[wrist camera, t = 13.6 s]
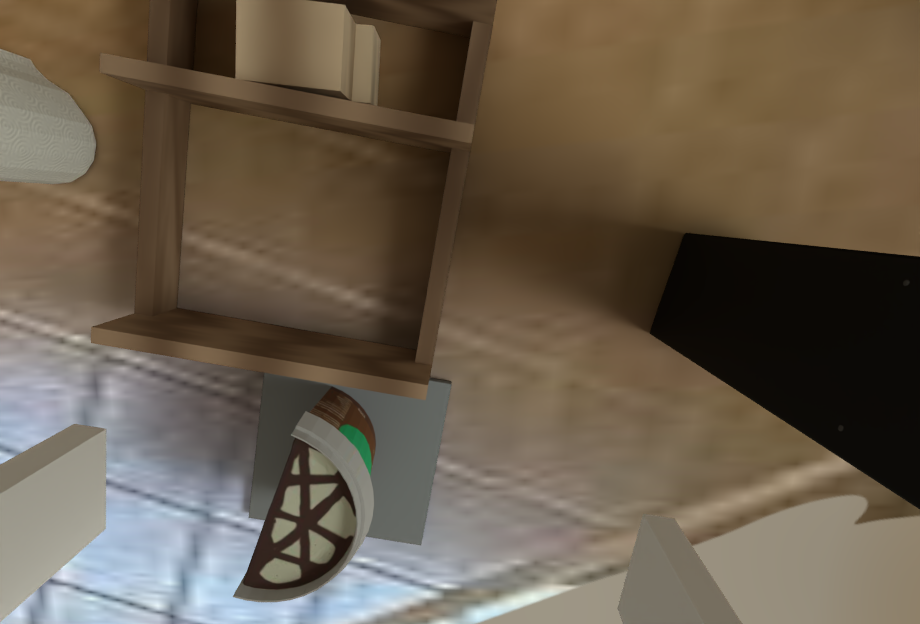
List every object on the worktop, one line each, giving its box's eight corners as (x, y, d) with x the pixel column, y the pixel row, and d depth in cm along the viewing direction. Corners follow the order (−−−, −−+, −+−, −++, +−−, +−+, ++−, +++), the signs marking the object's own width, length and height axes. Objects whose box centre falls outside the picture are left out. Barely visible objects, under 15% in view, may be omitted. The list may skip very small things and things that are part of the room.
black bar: (646, 333, 37) (1183, 687, 10) (682, 231, 35) (1444, 302, 8) (744, 359, 37) (1528, 768, 10) (784, 258, 36) (1840, 417, 8)
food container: (360, 531, 40) (327, 636, 30) (287, 505, 39) (230, 604, 29) (414, 397, 37) (398, 464, 28) (338, 368, 37) (294, 425, 27)
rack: (492, 25, 33) (501, -24, 26) (431, 365, 37) (425, 400, 31) (181, -38, 32) (105, -105, 25) (159, 318, 37) (91, 342, 30)
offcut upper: (356, 24, 30) (345, 4, 27) (351, 102, 31) (340, 90, 28) (258, 13, 30) (236, -8, 27) (256, 91, 31) (235, 79, 28)
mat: (451, 381, 38) (451, 384, 37) (421, 540, 41) (420, 545, 40) (269, 350, 37) (266, 352, 37) (251, 513, 40) (248, 517, 39)
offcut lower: (381, 41, 33) (373, 25, 30) (378, 112, 34) (370, 102, 31) (262, 30, 33) (243, 13, 30) (262, 101, 34) (243, 91, 31)
